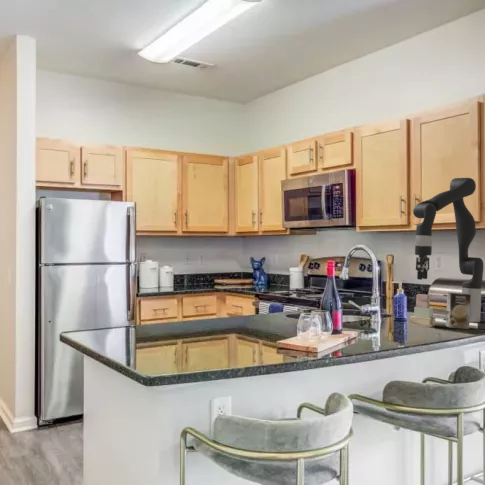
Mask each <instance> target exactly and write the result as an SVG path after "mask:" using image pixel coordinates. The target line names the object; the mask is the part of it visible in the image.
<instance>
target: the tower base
mask: <svg viewBox="0 0 485 485" xmlns="http://www.w3.org/2000/svg"><path fill="white" fill-rule="evenodd" d="M409 319H410V320H409V325H410V326H412V325H413V326H414V327H420V326H421V327H422V328H423V327H424V328H431V327H434V326H436V316H433V317H431V318H423V317H414V315H412V316H409Z"/></svg>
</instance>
